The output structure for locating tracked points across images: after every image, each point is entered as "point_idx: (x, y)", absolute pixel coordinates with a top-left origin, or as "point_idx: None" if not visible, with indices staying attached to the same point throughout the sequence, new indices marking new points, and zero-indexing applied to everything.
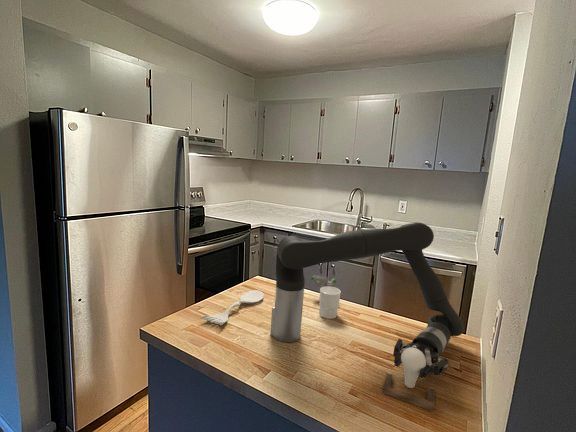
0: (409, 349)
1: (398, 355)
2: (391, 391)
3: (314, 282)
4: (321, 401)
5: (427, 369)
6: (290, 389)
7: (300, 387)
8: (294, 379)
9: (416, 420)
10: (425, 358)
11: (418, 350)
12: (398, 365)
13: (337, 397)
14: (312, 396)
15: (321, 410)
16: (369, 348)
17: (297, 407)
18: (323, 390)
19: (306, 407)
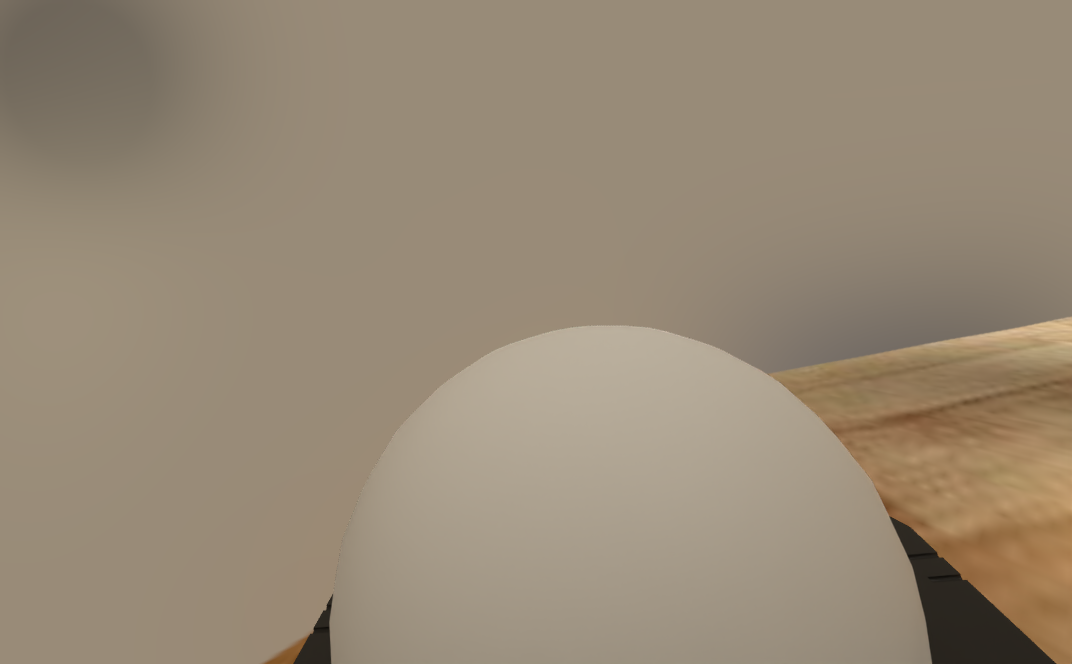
0: (676, 337)
1: (962, 612)
2: None
3: None
4: (839, 400)
5: (325, 650)
6: (960, 368)
7: (969, 386)
8: (1051, 387)
9: None
10: (337, 568)
11: (498, 371)
12: None
13: (839, 438)
14: (885, 393)
15: (788, 388)
16: None
17: (838, 361)
18: (918, 424)
19: (826, 372)
